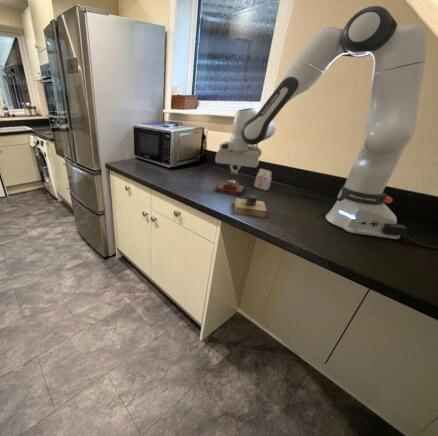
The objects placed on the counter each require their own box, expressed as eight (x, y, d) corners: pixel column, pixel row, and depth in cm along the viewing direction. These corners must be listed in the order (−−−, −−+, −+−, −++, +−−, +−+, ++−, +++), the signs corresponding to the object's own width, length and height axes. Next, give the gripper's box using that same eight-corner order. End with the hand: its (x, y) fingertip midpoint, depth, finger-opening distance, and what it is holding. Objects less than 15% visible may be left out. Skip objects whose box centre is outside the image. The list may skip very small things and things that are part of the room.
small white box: (257, 185, 130) (262, 167, 125) (268, 189, 125) (273, 171, 120) (253, 186, 128) (257, 168, 124) (264, 190, 123) (269, 172, 119)
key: (235, 183, 122) (236, 180, 121) (234, 186, 119) (234, 182, 118) (228, 182, 123) (229, 179, 122) (227, 184, 120) (227, 181, 119)
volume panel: (262, 207, 105) (263, 201, 103) (265, 217, 96) (267, 210, 95) (234, 204, 108) (235, 197, 106) (234, 213, 99) (236, 206, 98)
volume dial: (245, 201, 103) (247, 193, 101) (255, 203, 102) (257, 195, 100) (245, 204, 100) (247, 196, 98) (255, 206, 98) (257, 198, 97)
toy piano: (243, 189, 124) (245, 182, 122) (240, 196, 116) (241, 188, 114) (220, 185, 129) (221, 179, 127) (216, 191, 121) (217, 184, 119)
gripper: (263, 146, 110) (256, 175, 116) (219, 142, 118) (215, 169, 125) (261, 148, 105) (255, 178, 111) (216, 144, 113) (212, 172, 120)
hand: (234, 173), depth 118 cm, fingers closed
